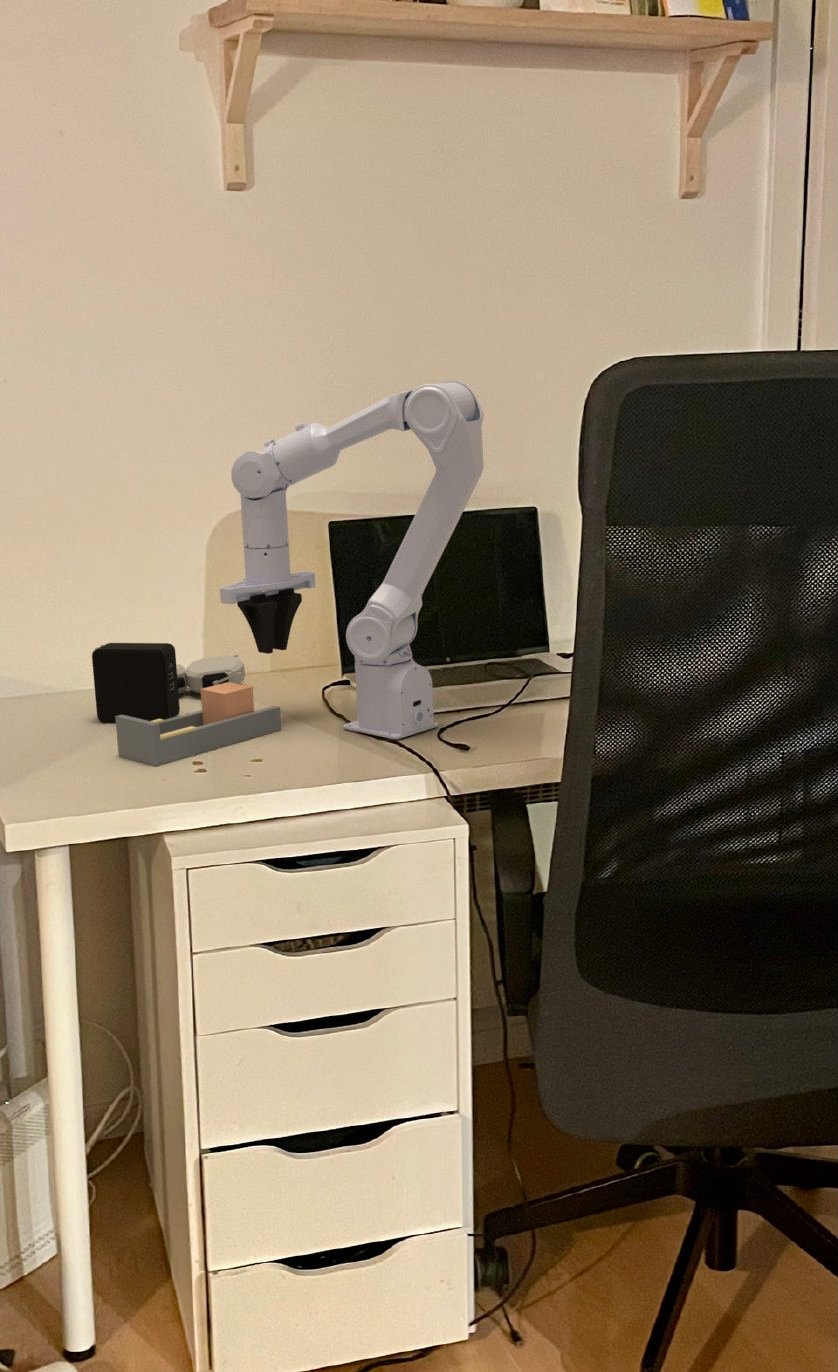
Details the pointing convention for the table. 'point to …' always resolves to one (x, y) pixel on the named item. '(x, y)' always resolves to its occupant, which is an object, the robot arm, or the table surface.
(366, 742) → the table surface
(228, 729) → the trough
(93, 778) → the table surface
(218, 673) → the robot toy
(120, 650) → the electronic device
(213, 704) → the block
